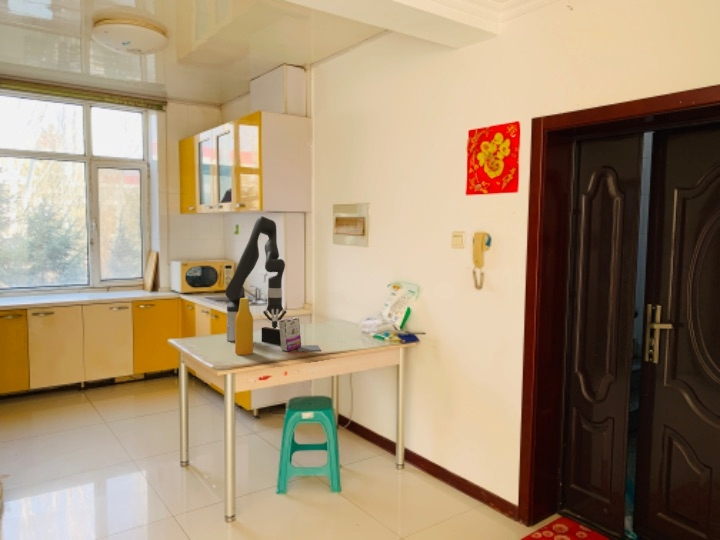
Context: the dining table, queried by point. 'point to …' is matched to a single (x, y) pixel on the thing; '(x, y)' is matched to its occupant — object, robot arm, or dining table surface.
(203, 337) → the dining table surface
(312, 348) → the mat
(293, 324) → the candy bar box
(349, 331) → the dining table surface
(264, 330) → the radio
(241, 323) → the beer bottle
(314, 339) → the dining table surface
